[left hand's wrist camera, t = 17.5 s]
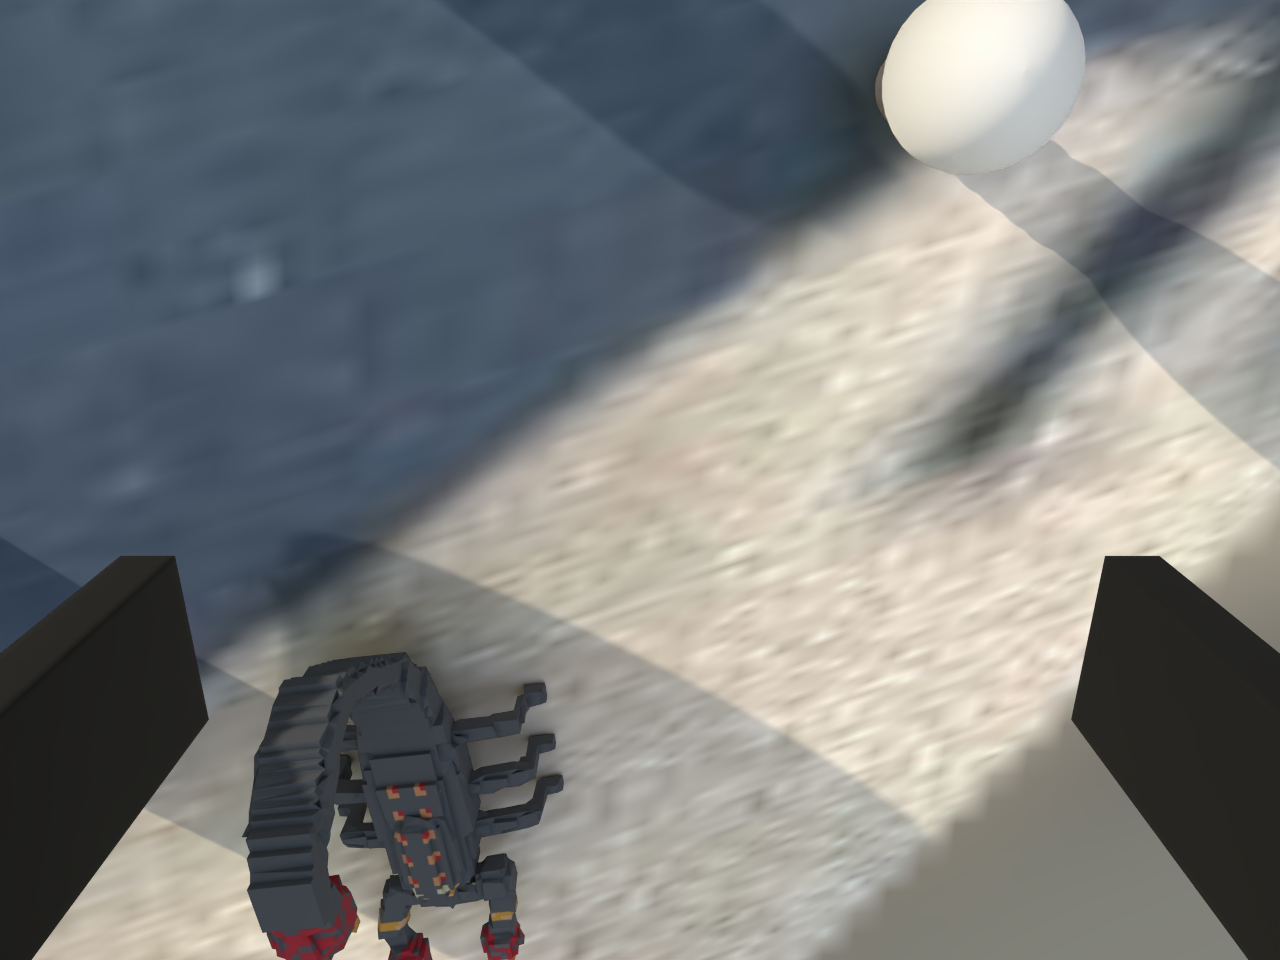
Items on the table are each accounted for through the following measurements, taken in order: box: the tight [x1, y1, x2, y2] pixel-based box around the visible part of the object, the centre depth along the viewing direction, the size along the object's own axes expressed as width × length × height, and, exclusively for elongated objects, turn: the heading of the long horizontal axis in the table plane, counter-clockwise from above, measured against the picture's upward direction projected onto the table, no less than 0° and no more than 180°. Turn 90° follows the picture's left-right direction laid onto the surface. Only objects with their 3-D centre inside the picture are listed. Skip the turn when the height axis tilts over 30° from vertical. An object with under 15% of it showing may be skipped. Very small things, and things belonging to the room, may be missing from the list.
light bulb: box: [875, 0, 1085, 175], centre depth 34 cm, size 7×7×11 cm
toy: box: [242, 652, 564, 960], centre depth 44 cm, size 13×27×18 cm, turn 7°
